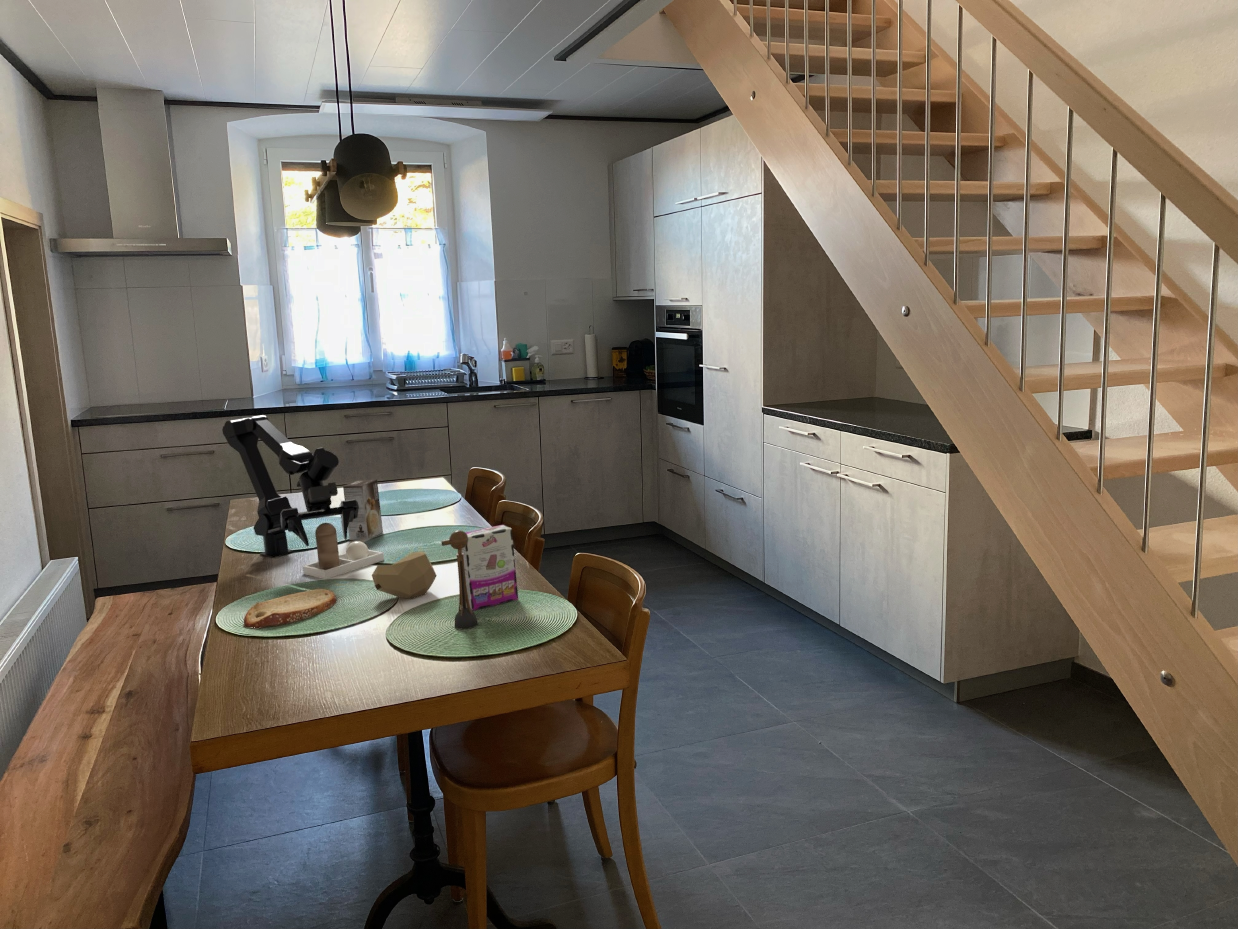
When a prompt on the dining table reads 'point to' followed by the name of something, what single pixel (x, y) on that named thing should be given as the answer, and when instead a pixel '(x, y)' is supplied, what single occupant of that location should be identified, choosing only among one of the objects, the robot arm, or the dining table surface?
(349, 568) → the white divided tray
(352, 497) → the coffee box
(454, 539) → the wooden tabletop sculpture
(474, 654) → the dining table surface
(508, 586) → the candy bar box
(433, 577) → the low-poly potato
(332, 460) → the robot arm
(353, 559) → the cream white ball
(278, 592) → the dining table surface
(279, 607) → the slice of bread
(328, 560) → the brown domed cylinder
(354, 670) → the dining table surface
